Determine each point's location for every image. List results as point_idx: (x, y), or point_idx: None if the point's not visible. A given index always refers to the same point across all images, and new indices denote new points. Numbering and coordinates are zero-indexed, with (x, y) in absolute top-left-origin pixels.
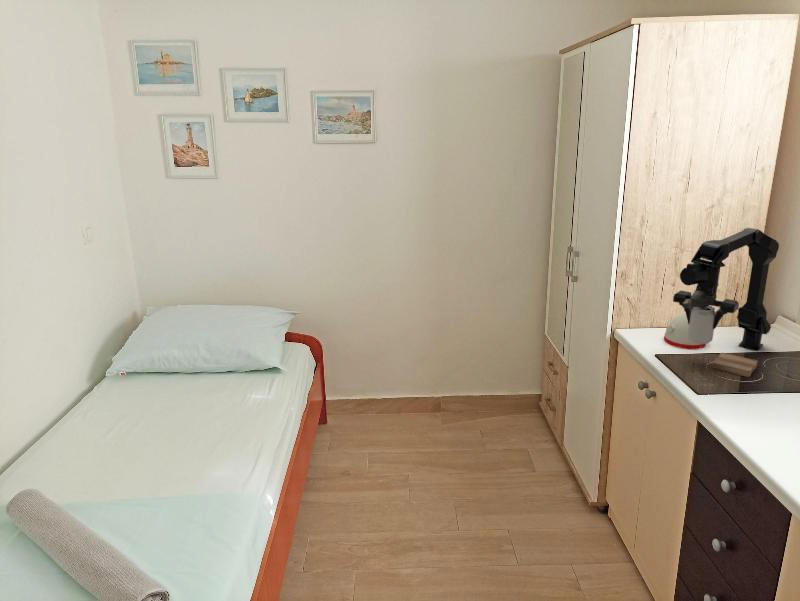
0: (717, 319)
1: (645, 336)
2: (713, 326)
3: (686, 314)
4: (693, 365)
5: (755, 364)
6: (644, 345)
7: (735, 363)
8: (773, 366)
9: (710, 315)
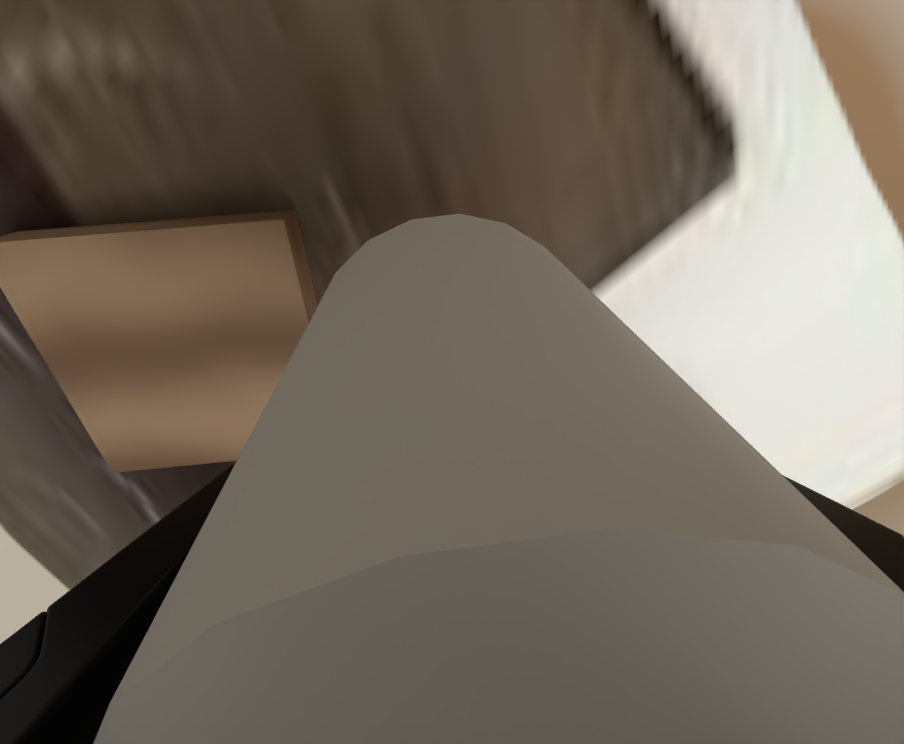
0: (41, 645)
1: (813, 431)
2: None
3: (887, 532)
4: (419, 157)
5: (81, 412)
6: (819, 290)
7: (159, 327)
8: (81, 496)
9: (111, 712)
